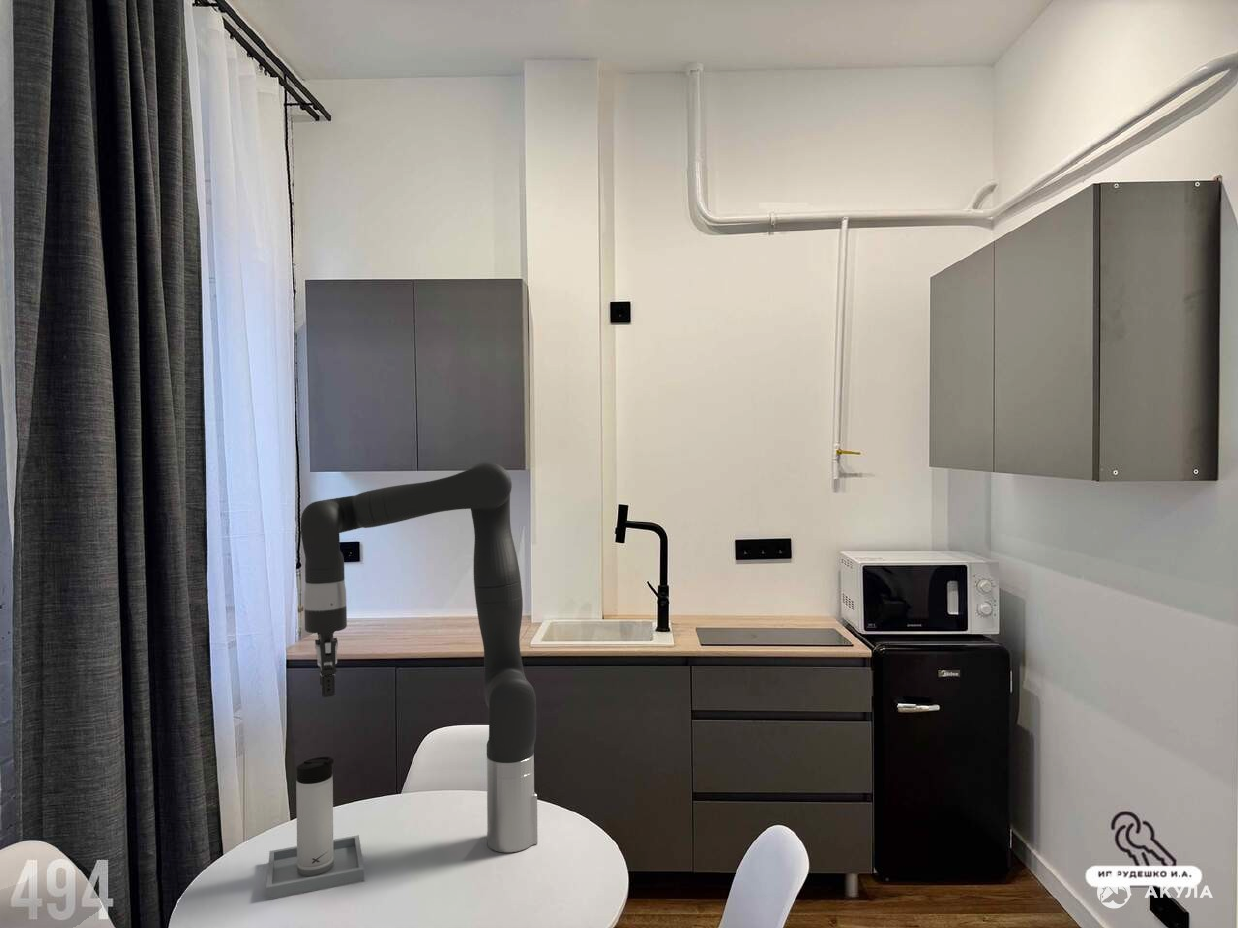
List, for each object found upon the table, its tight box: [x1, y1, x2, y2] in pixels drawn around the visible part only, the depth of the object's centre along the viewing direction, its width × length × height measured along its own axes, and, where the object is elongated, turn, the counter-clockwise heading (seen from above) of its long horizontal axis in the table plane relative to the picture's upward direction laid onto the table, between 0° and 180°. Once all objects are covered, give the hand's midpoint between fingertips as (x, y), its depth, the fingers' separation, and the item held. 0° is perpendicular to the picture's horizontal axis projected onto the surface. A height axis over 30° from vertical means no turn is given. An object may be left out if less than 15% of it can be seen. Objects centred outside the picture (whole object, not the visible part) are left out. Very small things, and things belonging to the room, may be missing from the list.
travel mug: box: [295, 756, 334, 876], centre depth 144 cm, size 6×7×20 cm
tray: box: [265, 834, 365, 901], centre depth 144 cm, size 16×14×2 cm
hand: (327, 690), depth 149 cm, fingers open, 8 cm apart
